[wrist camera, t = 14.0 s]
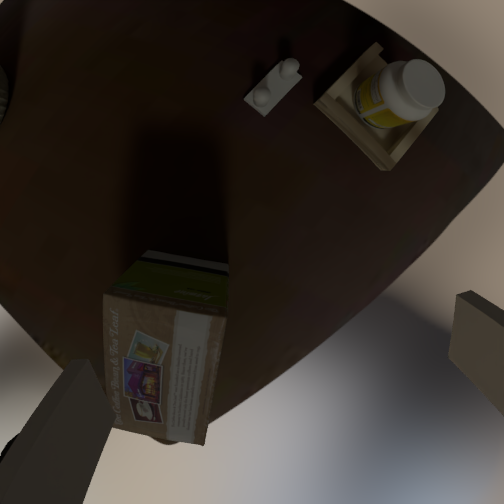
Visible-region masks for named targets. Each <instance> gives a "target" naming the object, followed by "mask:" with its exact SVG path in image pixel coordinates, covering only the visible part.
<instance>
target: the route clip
mask: <svg viewBox="0 0 504 504" xmlns="http://www.w3.org/2000/svg"><path fill="white" fill-rule="evenodd" d="M298 69H299V62H298V61H297V60H296V59H294V58H288V59H286V60H285V61H284V62H283V61H281V62H280V63H279V64H277V65H276V66H275V67H274V68H273V69H272V70H271V71H270V72H269V73H268V74H267V75H266V76H265V77H264V78H263V79H262V80H261V81H260V82H259V83H258V84H257V85H256V87H255V88H254V89H253V90H252V91H251V92H250V93H249V94H248V95H247V96H246V97H245V98H244V101H246V102H247V103H248V104H249V105H251V106H252V107H253V108H254V109H255V110H257V111H258V112H259V113H260V114H262V115H263V116H264V117H265V116H266V115H267V114H268V113H269V111H270V110H271V109H272V108H273V107H274V106H275V105H276V104H277V103H278V102H279V101H280V100H281V99H282V98H283V97H284V96H285V95H286V94H287V93H288V92H289V91H290V89H291V88H292V87H293V86H294V85H295V84H296V83H297V82H298V81H299V80H300V79H301V78H302V76H301V75H299V74H298V73H297V70H298Z"/></svg>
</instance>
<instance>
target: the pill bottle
mask: <svg viewBox="0 0 504 504" xmlns="http://www.w3.org/2000/svg"><path fill="white" fill-rule="evenodd" d="M444 96H445V86H444V82H443V80H442V78H441V76H440V74H439V72H438V71H437V70H436V69H435V68H434V67H433V66H432V65H431V64H430V63H428V62H426V61H424V60H420V59H414V60H410V61H408V62H406V61H396V62H393V63H390V64H388V65H387V66H385V67H384V68H382V69H381V70H380V71H378V72H377V73H375V74H374V75H372V76H371V77H369V78H368V79H366V80H365V81H363V82H362V83H361V84H360V85H359V86H358V87H357V89H356V90H355V93H354V97H353V102H354V108H355V110H356V113H357V115H358V116H359V118H360V119H361V120H362V121H363V122H364V123H365V124H367V125H368V126H370V127H372V128H375V129H387V128H391V127H395V126H399V125H403V124H407V123H410V122H414V121H418V120H421V119H423V118H425V117H426V116H427V115H428V114H429V113H430V112H431V111H432V109H433V108H435V107H437V106H439V105H440V104H441V103H442V101H443V99H444Z"/></svg>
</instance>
